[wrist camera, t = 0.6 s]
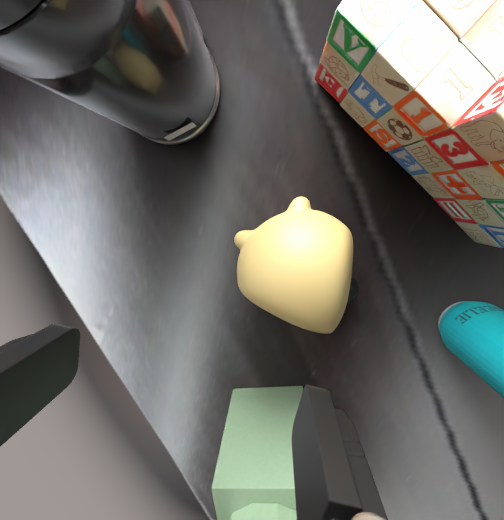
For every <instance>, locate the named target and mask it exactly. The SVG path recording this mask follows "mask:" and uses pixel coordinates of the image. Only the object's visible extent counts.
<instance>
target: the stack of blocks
mask: <svg viewBox="0 0 504 520" xmlns="http://www.w3.org/2000/svg"><path fill="white" fill-rule="evenodd" d="M315 80H316V81H317V82H318V83H319V84H320V85H321V86H322V87H323V88H325V89H326V90H327V91H328V92H329V93H330V94H331V95H332V96H333V97H334V98H335V99H336V100H337V101H338V102H340V106H341V107H342V108H343V109H344V110H345V111H346V112H347V113H348V114H349V115H350V116H351V117H352V118H353V119H354V120H355V121H356V122H357V123H358V124H359V125H360V126H361V127H363V128H364V130H365V131H366V132H367V133H368V134H369V135H370V136H371V137H372V138H373V139H374V140H375V141H376V142H377V143H378V144H379V145H380V146H381V147H382V148H383V149H384V150H385V151H386V152H388V153H389V154H390V155H391V156H392V157H393V158H394V159H395V160H396V161H397V162H398V163H399V164H400V165H401V166H402V167H403V168H404V169H405V170H406V171H407V172H408V173H409V174H410V175H412V177H413V178H414V179H415V180H416V181H417V182H418V183H419V184H420V185H421V186H422V187H423V188H424V189H425V190H426V191H427V192H428V193H429V194H430V195H431V196H432V197H433V199H434V200H435V201H436V203H437V204H438V205H439V206H440V207H441V208H442V209H443V210H444V211H445V212H446V213H447V214H448V215H449V216H450V217H451V218H452V219H453V220H454V221H455V222H456V223H457V224H458V225H459V226H460V227H461V228H462V229H463V230H464V231H465V232H466V233H467V235H468V236H469V237H470V238H471V239H473V240H474V241H475V242H477V243H480V244H486V245H490V246H494V247H498V248H504V0H343V1H342V2H341V4H340V5H339V6H338V8H337V10H336V12H335V15H334V18H333V21H332V24H331V27H330V30H329V33H328V36H327V43H326V45H325V48H324V51H323V54H322V56H321V59H320V64H319V67H318V69H317V72H316V75H315Z"/></svg>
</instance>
